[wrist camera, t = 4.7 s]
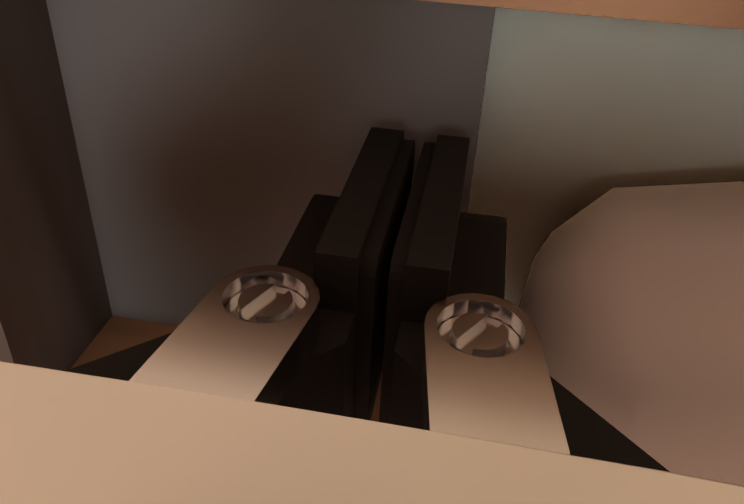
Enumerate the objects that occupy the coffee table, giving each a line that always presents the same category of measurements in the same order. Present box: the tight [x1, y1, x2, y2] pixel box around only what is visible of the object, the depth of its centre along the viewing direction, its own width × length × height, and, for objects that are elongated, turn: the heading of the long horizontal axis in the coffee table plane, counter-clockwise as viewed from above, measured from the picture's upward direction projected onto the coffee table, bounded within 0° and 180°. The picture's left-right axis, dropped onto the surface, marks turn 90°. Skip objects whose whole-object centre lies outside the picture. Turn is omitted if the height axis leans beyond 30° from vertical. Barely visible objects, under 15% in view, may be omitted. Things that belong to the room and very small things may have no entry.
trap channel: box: [0, 0, 744, 422], centre depth 11 cm, size 26×10×4 cm, turn 87°
